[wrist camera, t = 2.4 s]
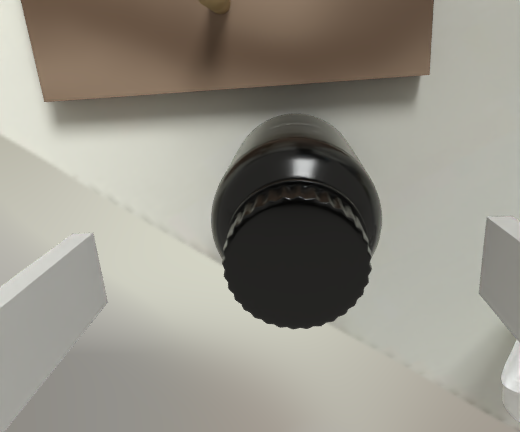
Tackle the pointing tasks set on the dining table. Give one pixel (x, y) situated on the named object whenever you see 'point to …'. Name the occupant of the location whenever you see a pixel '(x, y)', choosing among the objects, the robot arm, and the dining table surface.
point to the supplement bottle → (296, 223)
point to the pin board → (221, 44)
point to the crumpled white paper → (512, 383)
